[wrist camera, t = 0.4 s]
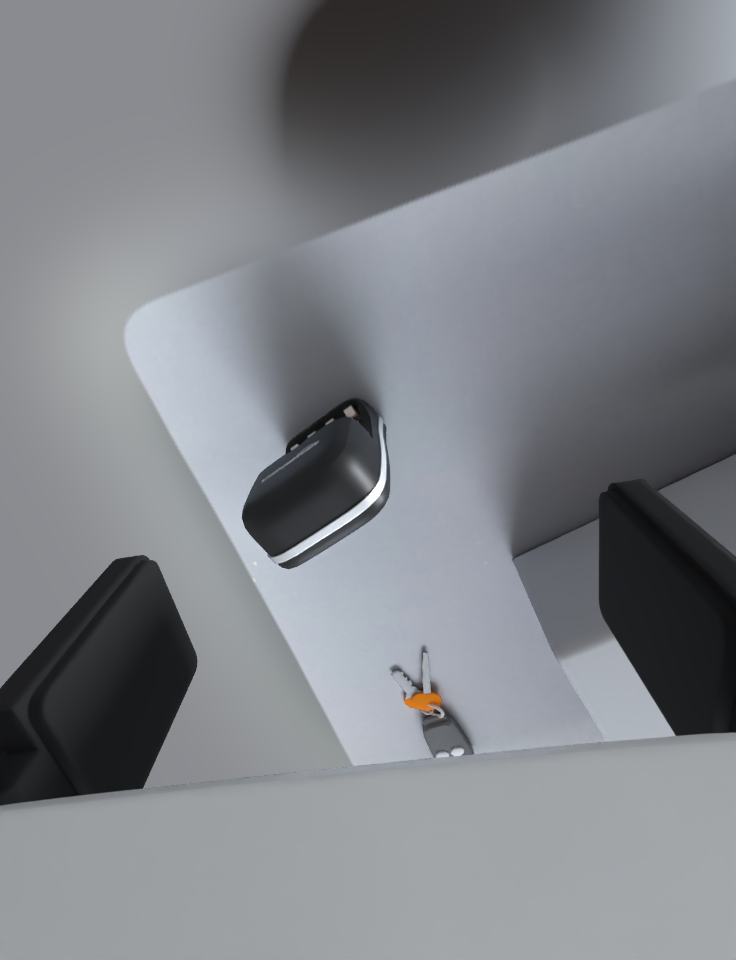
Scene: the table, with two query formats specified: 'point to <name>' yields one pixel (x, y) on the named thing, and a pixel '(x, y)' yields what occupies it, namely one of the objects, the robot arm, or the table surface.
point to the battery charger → (321, 485)
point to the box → (577, 617)
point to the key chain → (434, 717)
